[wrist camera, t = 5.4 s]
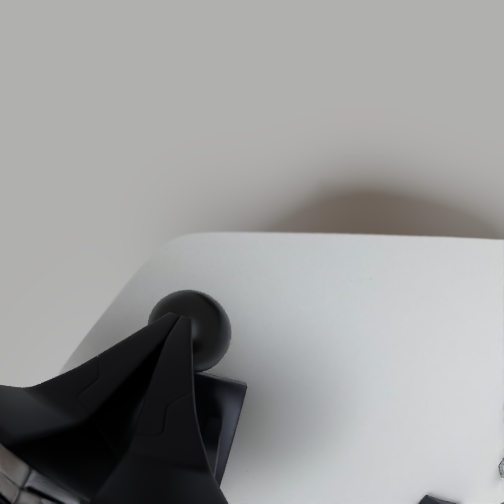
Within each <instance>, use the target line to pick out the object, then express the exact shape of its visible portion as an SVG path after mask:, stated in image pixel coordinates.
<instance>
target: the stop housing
mask: <svg viewBox="0 0 504 504" xmlns="http://www.w3.org/2000/svg"><path fill="white" fill-rule="evenodd" d="M419 504H455V503H451V502H447V501H443V500H440V499H437V498H433V497H430V496H427V495H426V496H425V497H424V498H423V500H422V501H421V502H420V503H419Z"/></svg>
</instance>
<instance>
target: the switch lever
mask: <svg viewBox="0 0 504 504" xmlns="http://www.w3.org/2000/svg"><path fill="white" fill-rule="evenodd" d="M169 312H171V313H174V314H178V315H180V316H184V317H188V318H191V319H192V350H193V373H199V372H203V371H206V370H208V369H210V368H212V367H213V366H215V365H216V364H217V363H218V362H219V361H220V360H221V359H222V358H223V357H224V355H225V354H226V352H227V350H228V348H229V345H230V340H231V325H230V321H229V318H228V316H227V314H226V312H225V310H224V309H223V307H222V306H221V305H220V304H219V303H218V302H217V301H216V300H215V299H213V298H212V297H210V296H209V295H207V294H205V293H202V292H199V291H194V290H182V291H177V292H174V293H171V294H169V295H167V296H166V297H164V298H163V299H161V300H160V301H159V302H158V303H157V305H156V306H155V307H154V309H153V310H152V312H151V314H150V317H149V320H148V325H149V324H151V323H152V322H154V321H156V320H157V319H159V318H161V317H162V316H164V315H165V314H167V313H169Z"/></svg>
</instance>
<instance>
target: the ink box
mask: <svg viewBox="0 0 504 504" xmlns="http://www.w3.org/2000/svg"><path fill="white" fill-rule="evenodd" d="M499 468H500V472H501V477H502V478H504V459H503V461H502V462H501V464H500V465H499Z"/></svg>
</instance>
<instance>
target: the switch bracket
mask: <svg viewBox="0 0 504 504" xmlns="http://www.w3.org/2000/svg"><path fill="white" fill-rule="evenodd" d="M193 377H194V394H195V407H196V415H197V420H198V425H199V429H200V433H201V437H202V441H203V444H204V448H205V451H206V455H207V458H208V462H209V465H210V468H211V470H212V473H213V475H214V477H215V480H216V482H217V484H218V485H219V487H220V484H221V481H222V478H223V474H224V471H225V467H226V464H227V460H228V457H229V453H230V449H231V446H232V442H233V439H234V435H235V431H236V427H237V424H238V420H239V416H240V412H241V409H242V405H243V401H244V397H245V393H246V389H247V384H246V383H243V382H239V381H235V380H230V379H226V378H222V377H218V376H215V375H211V374H207V373H203V372H199V373H193ZM80 504H90V502H89V501H87V500H85V499H83V498H82V499H81V501H80Z"/></svg>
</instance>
